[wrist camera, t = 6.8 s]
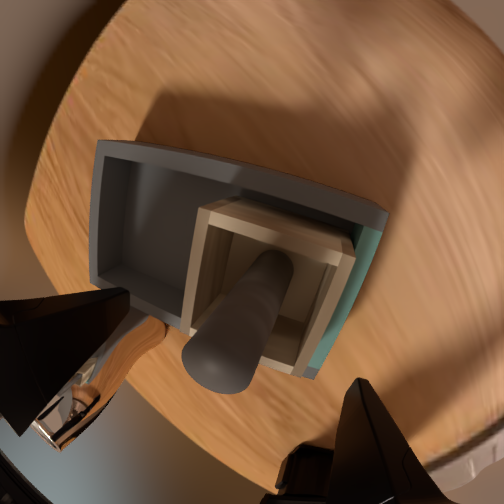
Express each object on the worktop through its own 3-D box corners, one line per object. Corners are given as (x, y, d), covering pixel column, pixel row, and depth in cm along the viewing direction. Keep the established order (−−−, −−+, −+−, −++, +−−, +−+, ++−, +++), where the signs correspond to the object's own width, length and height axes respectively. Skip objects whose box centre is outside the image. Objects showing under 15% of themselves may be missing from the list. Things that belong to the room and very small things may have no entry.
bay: (375, 203, 15) (389, 213, 12) (318, 344, 19) (313, 379, 16) (133, 140, 18) (97, 139, 15) (120, 266, 22) (89, 282, 19)
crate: (348, 230, 15) (370, 317, 6) (310, 327, 18) (283, 449, 9) (235, 195, 16) (128, 232, 7) (214, 293, 19) (130, 384, 10)
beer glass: (110, 275, 23) (-17, 353, 9) (170, 297, 22) (34, 416, 8) (117, 332, 26) (19, 415, 12) (171, 357, 24) (76, 468, 10)
